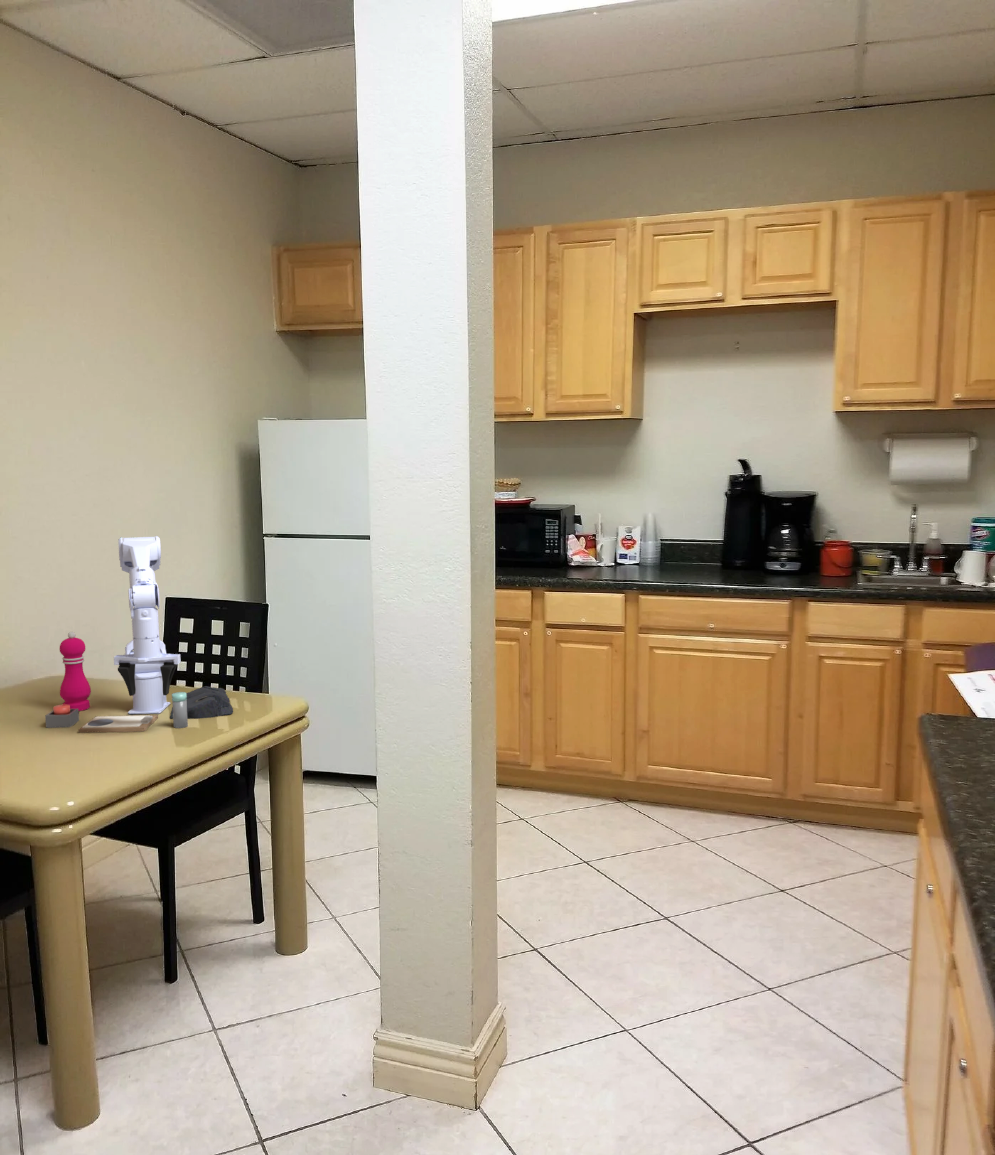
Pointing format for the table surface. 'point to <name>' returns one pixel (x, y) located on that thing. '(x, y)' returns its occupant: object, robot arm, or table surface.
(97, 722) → the clipboard
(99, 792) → the table surface
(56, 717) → the button box
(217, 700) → the dark slate chunk
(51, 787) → the table surface
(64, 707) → the button
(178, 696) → the marker
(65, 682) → the pepper mill
